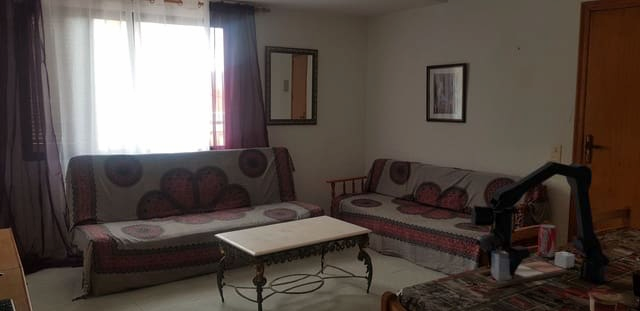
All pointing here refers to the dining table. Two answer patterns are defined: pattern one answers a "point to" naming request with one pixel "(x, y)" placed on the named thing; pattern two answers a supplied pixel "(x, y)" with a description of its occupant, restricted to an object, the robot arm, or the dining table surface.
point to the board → (523, 273)
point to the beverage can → (547, 240)
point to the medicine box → (500, 265)
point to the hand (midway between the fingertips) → (500, 271)
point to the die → (564, 259)
